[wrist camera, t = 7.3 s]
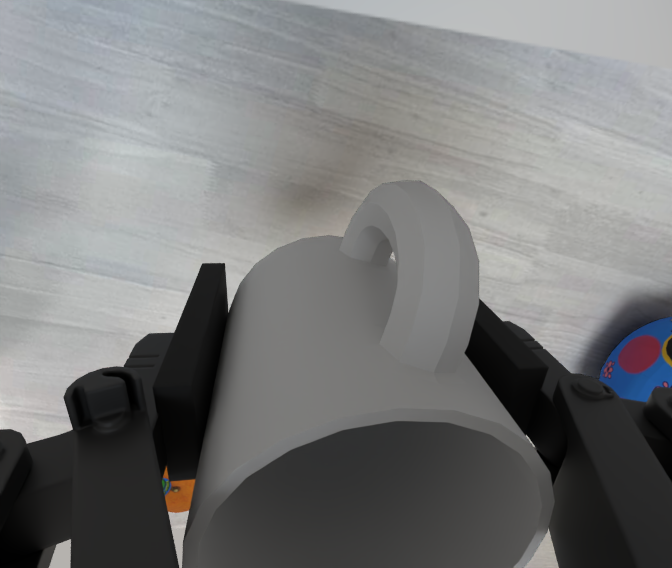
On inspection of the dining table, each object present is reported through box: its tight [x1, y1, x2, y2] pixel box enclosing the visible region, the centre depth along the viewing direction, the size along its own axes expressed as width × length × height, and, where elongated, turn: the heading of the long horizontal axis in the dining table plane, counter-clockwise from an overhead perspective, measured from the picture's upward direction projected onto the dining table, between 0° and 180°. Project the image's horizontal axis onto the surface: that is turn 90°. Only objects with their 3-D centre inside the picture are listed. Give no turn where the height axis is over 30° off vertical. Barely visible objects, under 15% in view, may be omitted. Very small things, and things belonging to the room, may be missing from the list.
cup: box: [182, 181, 555, 568], centre depth 11 cm, size 7×10×9 cm
